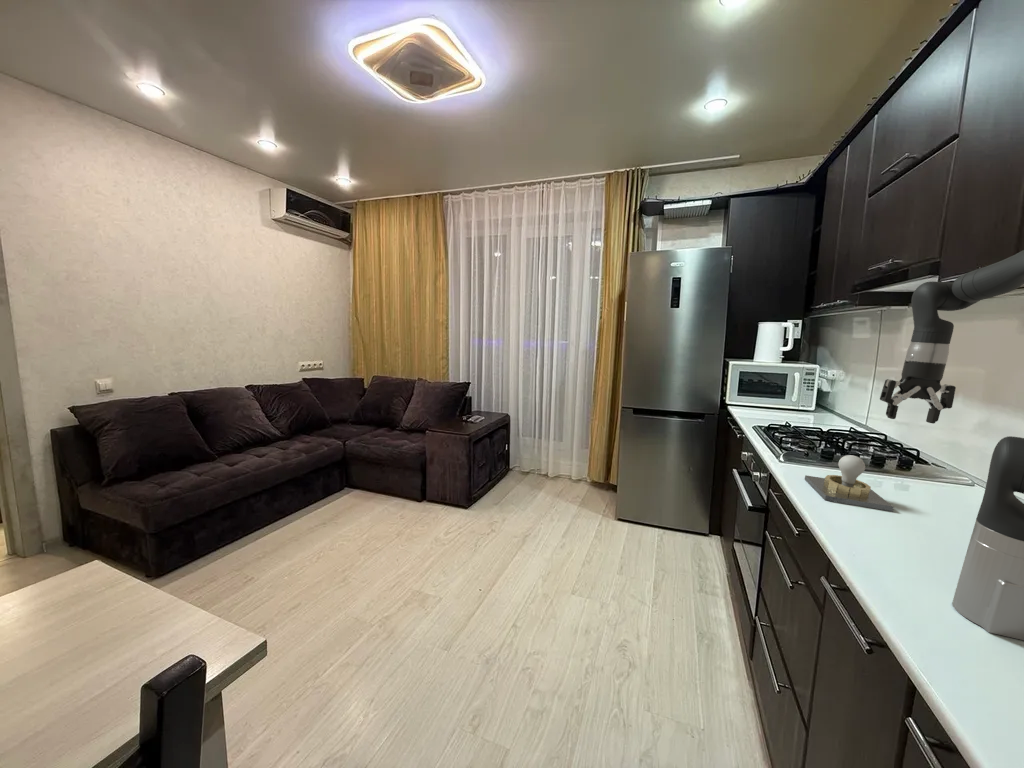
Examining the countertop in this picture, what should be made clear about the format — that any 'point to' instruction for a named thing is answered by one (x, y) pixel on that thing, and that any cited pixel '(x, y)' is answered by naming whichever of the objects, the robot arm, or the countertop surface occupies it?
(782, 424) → the countertop surface
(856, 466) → the lightbulb
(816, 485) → the lamp socket
